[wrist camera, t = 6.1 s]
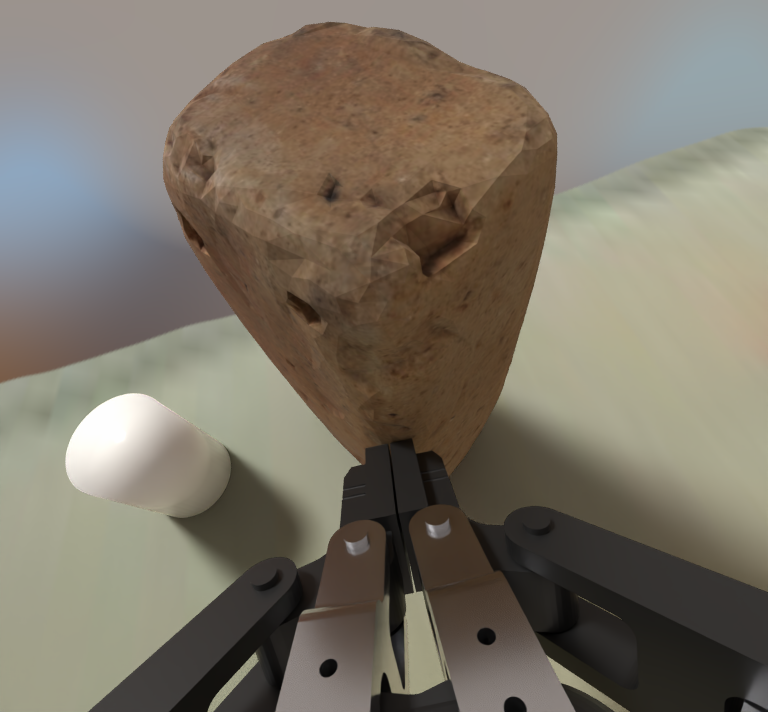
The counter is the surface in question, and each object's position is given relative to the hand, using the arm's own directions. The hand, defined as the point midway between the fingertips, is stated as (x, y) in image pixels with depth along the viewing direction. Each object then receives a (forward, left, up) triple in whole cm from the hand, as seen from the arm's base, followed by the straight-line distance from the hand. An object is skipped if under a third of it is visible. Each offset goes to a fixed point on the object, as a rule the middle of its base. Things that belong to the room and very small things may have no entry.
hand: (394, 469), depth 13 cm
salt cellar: (-13, +5, -12) cm, 18 cm away
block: (0, +6, -12) cm, 14 cm away
